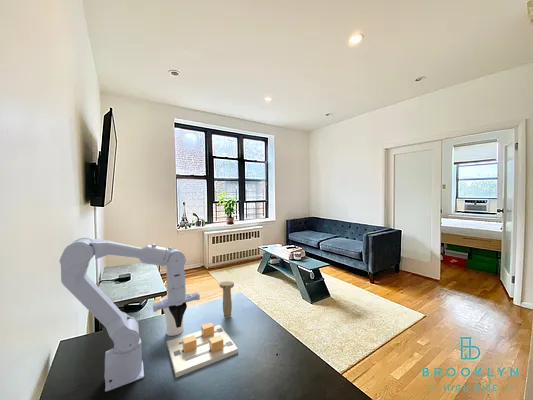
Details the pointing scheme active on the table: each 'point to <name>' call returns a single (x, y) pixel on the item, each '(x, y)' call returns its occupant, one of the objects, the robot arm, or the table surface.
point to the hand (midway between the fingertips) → (178, 326)
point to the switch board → (199, 352)
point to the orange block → (216, 343)
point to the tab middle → (189, 343)
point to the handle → (227, 298)
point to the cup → (171, 321)
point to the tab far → (207, 329)
